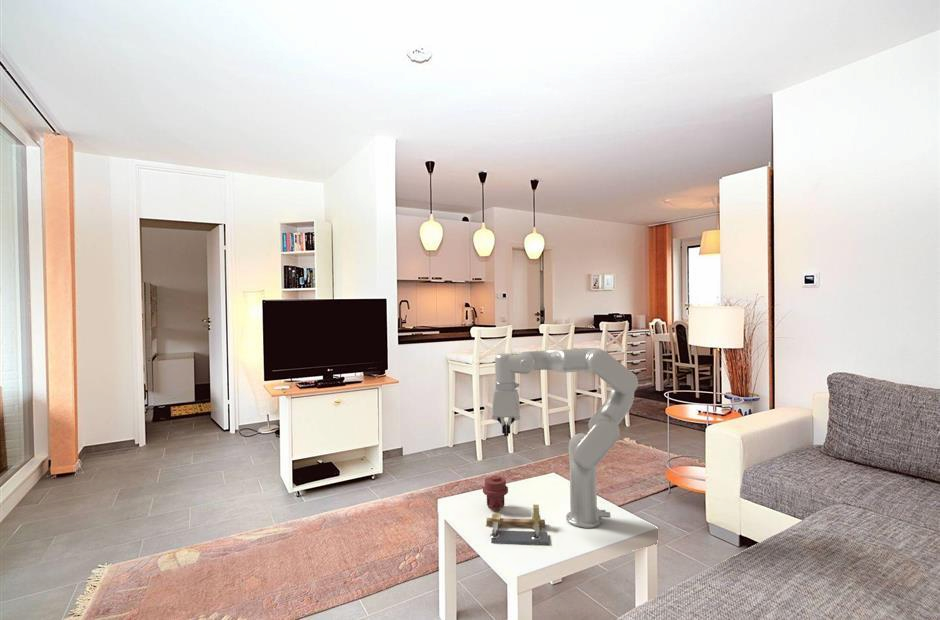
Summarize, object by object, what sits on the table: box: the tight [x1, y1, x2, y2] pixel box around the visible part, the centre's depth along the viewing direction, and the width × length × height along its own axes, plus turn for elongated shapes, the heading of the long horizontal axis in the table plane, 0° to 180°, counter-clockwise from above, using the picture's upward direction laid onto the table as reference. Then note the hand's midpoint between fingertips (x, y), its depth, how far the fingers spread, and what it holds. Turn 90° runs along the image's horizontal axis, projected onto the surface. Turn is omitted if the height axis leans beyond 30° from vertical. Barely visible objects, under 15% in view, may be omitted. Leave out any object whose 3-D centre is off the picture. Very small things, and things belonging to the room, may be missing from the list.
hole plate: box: [489, 529, 550, 546], centre depth 156 cm, size 20×7×1 cm, turn 84°
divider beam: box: [485, 512, 546, 536], centre depth 161 cm, size 21×13×3 cm, turn 84°
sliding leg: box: [531, 504, 542, 537], centre depth 160 cm, size 3×13×7 cm, turn 174°
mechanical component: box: [482, 475, 509, 513], centre depth 180 cm, size 12×10×10 cm
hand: (506, 435), depth 172 cm, fingers closed
